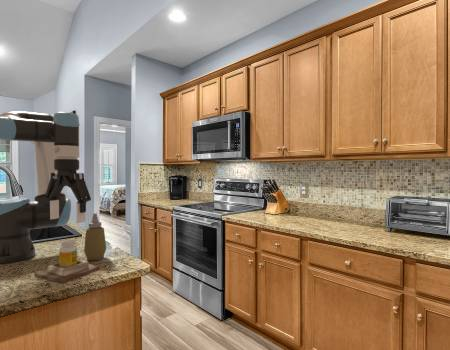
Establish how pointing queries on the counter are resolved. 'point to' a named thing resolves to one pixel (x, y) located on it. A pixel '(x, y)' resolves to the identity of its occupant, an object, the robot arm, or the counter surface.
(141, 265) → the counter surface
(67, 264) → the supplement bottle
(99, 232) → the squeeze bottle
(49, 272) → the collar holder
